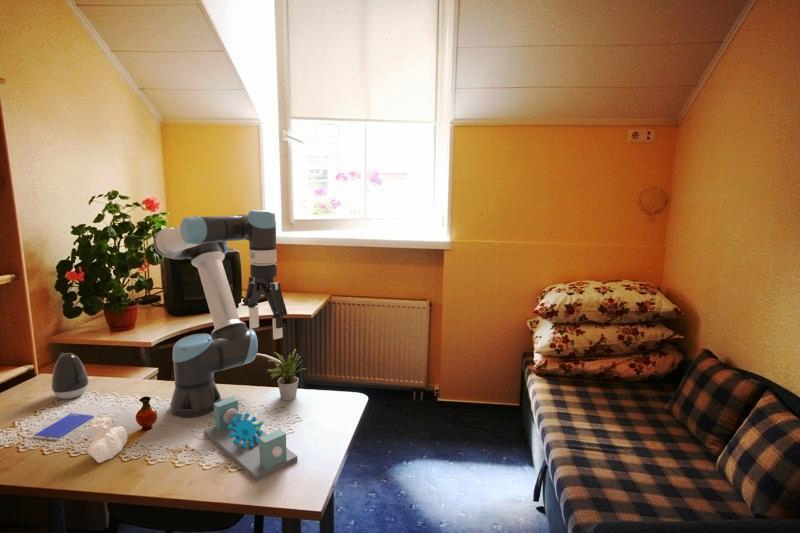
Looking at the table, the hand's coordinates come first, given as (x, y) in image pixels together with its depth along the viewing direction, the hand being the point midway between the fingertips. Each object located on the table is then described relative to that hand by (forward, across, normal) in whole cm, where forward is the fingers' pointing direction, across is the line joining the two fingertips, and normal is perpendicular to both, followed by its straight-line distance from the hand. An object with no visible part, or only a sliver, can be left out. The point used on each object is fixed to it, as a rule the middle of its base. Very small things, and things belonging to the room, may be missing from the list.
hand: (265, 332), depth 135 cm
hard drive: (+29, -39, -45) cm, 66 cm away
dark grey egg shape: (+29, -62, -39) cm, 79 cm away
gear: (+27, +8, -12) cm, 31 cm away
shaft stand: (+29, +9, -12) cm, 32 cm away
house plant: (+29, -11, +14) cm, 34 cm away
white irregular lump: (+29, -15, -40) cm, 52 cm away
